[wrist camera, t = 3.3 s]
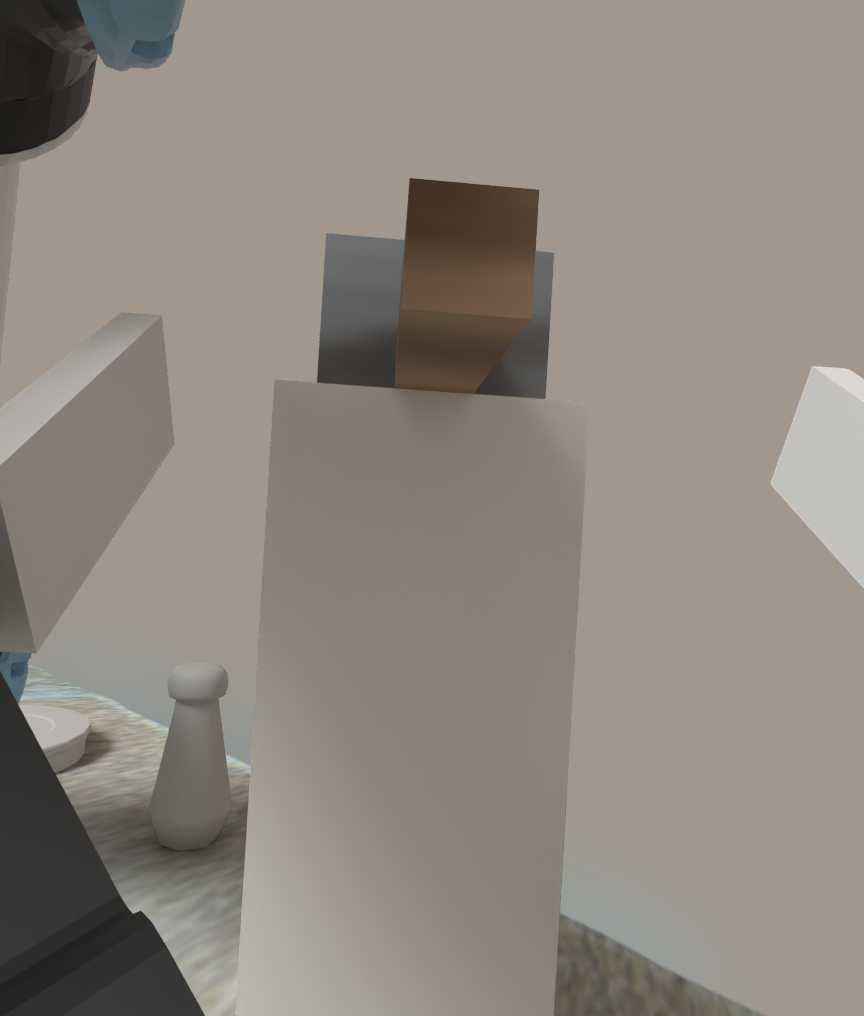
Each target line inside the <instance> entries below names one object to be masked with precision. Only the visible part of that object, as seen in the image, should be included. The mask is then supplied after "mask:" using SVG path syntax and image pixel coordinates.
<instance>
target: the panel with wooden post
mask: <svg viewBox="0 0 864 1016" xmlns="http://www.w3.org/2000/svg"><path fill="white" fill-rule="evenodd" d="M538 199H539V190H534V189H523V188H512V187H500V186H490V185H479V184H468V183H457V182H445V181H435V180H424V179H412V178H410V183H409V194H408V207H407V220H406V232H405V240H397V239H385V238H374V237H362V236H361V237H360V236H349V235H338V234H326V249H325V263H324V279H323V297H322V312H321V329H320V346H319V361H318V377H317V383H327V384H341V385H355V386H369V387H383V388H397V389H411V390H425V391H439V392H453V393H467V394H481V395H495V396H509V397H523V398H537V399H545V396H546V379H547V363H548V362H547V361H548V346H549V345H548V344H549V329H550V312H551V295H552V279H553V262H554V253H550V252H537V251H535V250H536V233H537V216H538Z"/></svg>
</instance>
